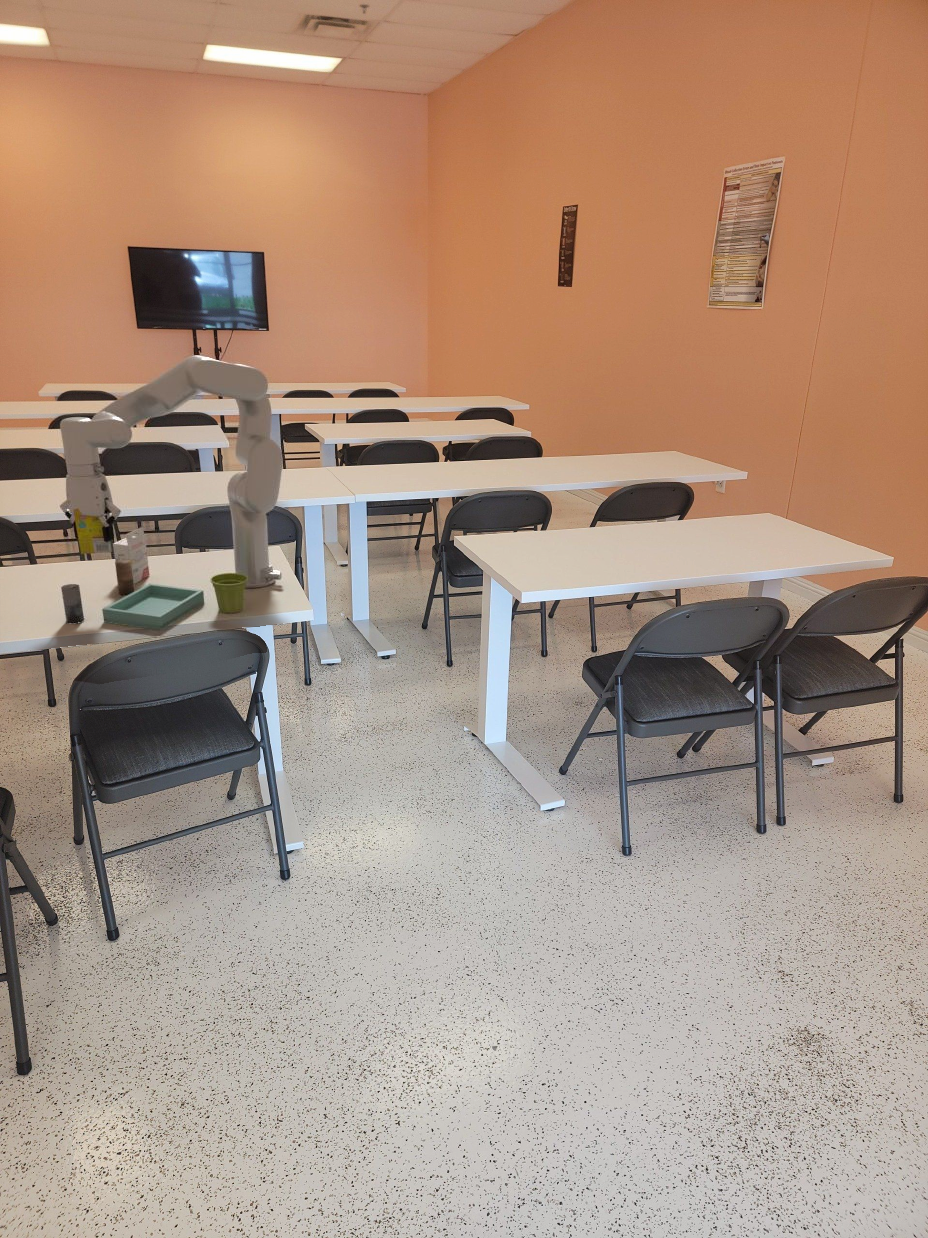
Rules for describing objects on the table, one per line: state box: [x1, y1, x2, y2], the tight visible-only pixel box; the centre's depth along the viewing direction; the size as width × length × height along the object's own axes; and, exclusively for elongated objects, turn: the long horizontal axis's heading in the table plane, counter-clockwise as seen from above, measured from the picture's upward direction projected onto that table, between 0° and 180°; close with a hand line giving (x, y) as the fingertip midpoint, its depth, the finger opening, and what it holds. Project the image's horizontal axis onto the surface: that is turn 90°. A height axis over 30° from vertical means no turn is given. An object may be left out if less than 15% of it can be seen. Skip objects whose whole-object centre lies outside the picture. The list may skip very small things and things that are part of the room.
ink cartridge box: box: [112, 526, 150, 585], centre depth 225 cm, size 9×5×15 cm, turn 168°
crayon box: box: [74, 509, 114, 555], centre depth 200 cm, size 7×3×12 cm, turn 106°
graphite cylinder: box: [60, 583, 85, 624], centre depth 197 cm, size 4×4×9 cm
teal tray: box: [101, 583, 205, 631], centre depth 205 cm, size 16×20×4 cm
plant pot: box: [209, 572, 248, 614], centre depth 208 cm, size 9×9×9 cm
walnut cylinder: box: [114, 560, 136, 597], centre depth 216 cm, size 4×4×9 cm
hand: (94, 538), depth 201 cm, fingers closed on crayon box, 7 cm apart
